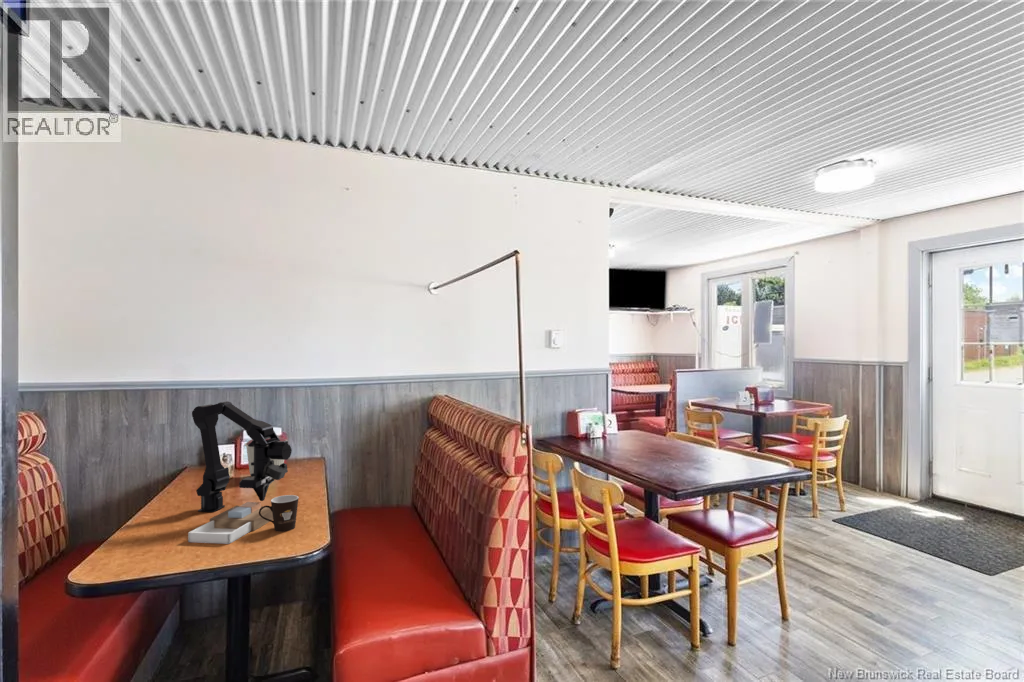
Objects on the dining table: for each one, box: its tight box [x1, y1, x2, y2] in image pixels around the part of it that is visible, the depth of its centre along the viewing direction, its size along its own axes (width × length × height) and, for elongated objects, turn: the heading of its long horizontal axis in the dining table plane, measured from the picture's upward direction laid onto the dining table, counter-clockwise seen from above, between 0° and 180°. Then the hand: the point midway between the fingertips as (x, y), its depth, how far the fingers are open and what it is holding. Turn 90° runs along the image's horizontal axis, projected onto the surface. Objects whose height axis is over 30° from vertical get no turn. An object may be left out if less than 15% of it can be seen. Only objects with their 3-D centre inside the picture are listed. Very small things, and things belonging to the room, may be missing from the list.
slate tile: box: [228, 507, 251, 518], centre depth 174 cm, size 5×5×2 cm
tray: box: [187, 520, 251, 545], centre depth 164 cm, size 14×11×3 cm
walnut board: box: [209, 505, 273, 532], centre depth 177 cm, size 16×14×4 cm
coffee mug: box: [259, 494, 299, 533], centre depth 171 cm, size 12×9×10 cm
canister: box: [244, 436, 288, 479], centre depth 237 cm, size 18×18×21 cm
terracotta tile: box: [238, 501, 262, 513], centre depth 180 cm, size 5×5×2 cm
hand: (262, 500), depth 187 cm, fingers closed
